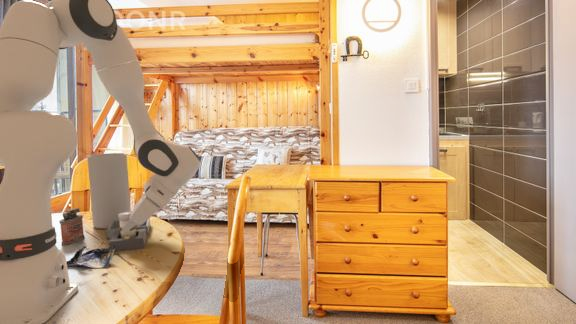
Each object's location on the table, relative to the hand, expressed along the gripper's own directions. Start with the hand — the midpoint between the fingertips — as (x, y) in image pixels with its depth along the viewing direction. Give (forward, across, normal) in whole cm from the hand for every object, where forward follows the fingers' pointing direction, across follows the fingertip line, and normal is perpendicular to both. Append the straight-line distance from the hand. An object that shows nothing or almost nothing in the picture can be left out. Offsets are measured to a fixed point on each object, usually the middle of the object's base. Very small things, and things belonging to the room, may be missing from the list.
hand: (125, 227), depth 114 cm
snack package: (+10, +13, -1) cm, 16 cm away
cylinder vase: (+9, -27, -1) cm, 29 cm away
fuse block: (+3, 0, +4) cm, 5 cm away
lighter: (+16, -10, -8) cm, 20 cm away
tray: (+4, -14, +4) cm, 15 cm away
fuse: (+3, 0, +4) cm, 5 cm away
